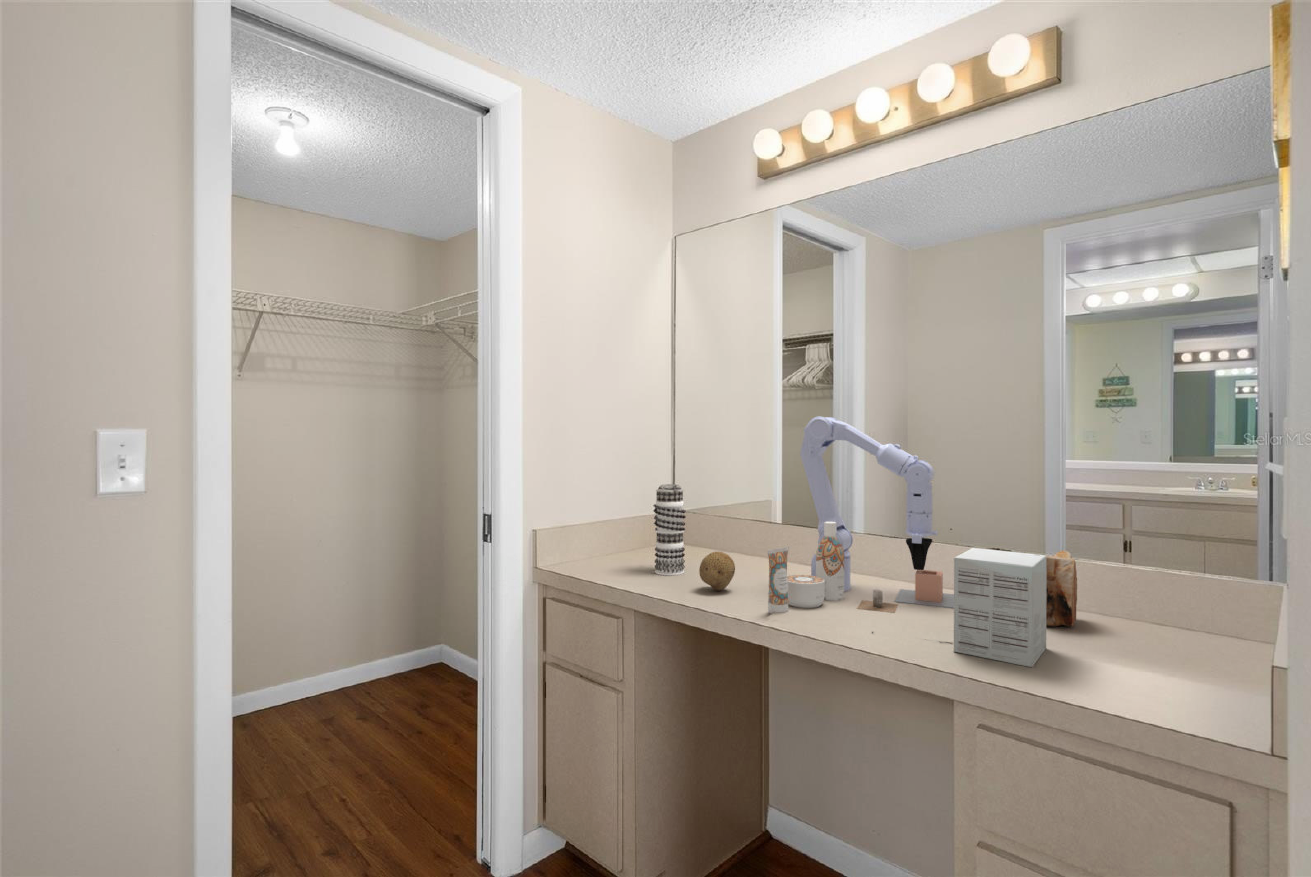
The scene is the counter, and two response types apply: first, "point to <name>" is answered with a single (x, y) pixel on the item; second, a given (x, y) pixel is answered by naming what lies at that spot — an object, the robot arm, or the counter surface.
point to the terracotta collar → (929, 585)
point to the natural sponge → (717, 570)
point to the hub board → (909, 598)
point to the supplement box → (1000, 605)
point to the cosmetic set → (807, 576)
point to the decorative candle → (669, 530)
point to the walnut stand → (877, 604)
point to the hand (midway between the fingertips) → (918, 569)
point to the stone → (1061, 590)
